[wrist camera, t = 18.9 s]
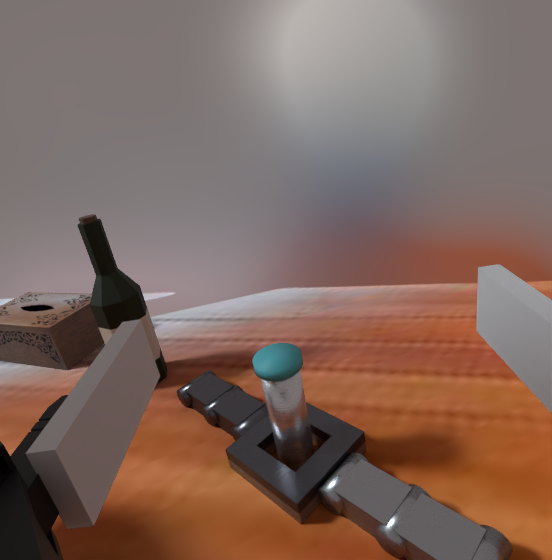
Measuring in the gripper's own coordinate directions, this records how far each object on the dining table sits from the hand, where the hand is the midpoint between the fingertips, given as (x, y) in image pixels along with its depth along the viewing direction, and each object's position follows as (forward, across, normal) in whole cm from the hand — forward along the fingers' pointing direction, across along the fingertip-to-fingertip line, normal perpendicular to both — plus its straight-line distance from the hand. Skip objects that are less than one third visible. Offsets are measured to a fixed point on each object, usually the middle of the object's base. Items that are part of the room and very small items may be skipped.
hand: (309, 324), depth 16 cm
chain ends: (+23, -4, -32) cm, 39 cm away
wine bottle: (+46, -31, -32) cm, 64 cm away
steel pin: (+23, -4, -32) cm, 39 cm away
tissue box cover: (+64, -58, -32) cm, 92 cm away
